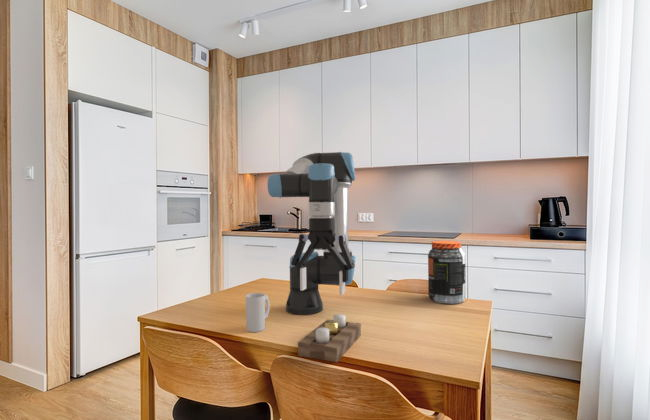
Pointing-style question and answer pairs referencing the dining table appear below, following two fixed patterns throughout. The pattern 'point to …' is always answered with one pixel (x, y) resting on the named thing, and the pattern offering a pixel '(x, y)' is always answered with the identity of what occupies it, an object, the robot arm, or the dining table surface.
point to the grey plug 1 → (322, 335)
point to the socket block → (330, 343)
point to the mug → (256, 311)
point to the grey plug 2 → (340, 320)
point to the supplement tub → (446, 272)
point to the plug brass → (332, 327)
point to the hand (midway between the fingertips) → (322, 291)
